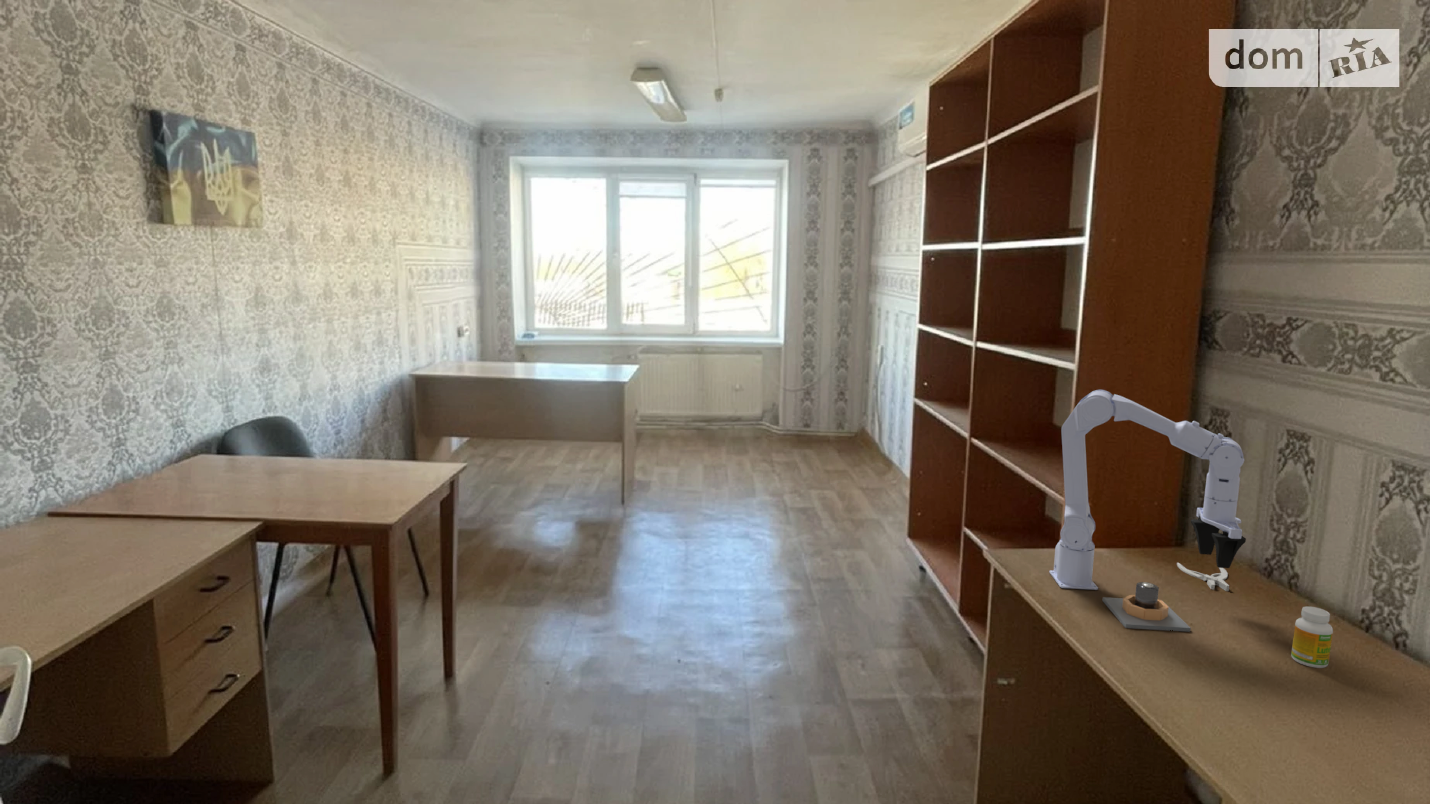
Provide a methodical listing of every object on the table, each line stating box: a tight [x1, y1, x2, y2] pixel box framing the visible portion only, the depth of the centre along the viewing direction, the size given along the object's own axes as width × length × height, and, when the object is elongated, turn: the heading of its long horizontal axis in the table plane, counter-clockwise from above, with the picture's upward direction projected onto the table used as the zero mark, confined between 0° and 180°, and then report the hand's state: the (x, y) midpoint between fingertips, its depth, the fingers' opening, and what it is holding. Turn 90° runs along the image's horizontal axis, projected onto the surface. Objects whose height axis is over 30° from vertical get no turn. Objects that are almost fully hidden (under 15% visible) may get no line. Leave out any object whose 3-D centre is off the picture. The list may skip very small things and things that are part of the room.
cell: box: [1134, 581, 1160, 609], centre depth 158 cm, size 4×4×6 cm
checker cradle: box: [1102, 594, 1192, 633], centre depth 158 cm, size 13×12×3 cm
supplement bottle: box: [1290, 606, 1334, 669], centre depth 139 cm, size 5×5×10 cm
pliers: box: [1176, 562, 1230, 592], centre depth 178 cm, size 10×2×15 cm
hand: (1214, 560), depth 160 cm, fingers open, 7 cm apart
